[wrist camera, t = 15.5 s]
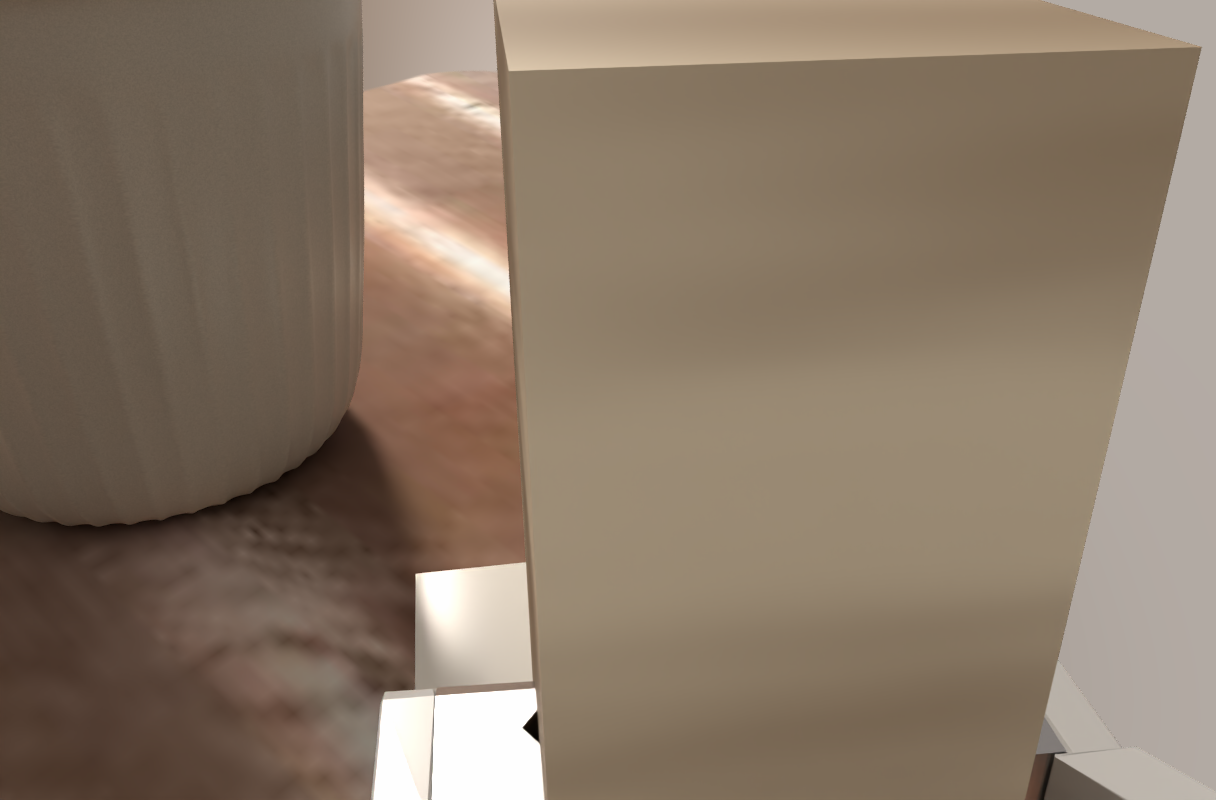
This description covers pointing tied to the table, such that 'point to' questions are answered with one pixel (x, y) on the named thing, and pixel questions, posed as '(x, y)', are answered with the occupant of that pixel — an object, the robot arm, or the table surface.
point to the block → (817, 376)
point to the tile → (472, 627)
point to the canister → (175, 249)
